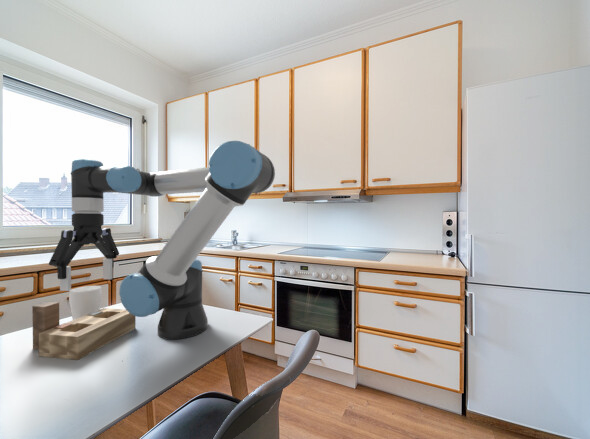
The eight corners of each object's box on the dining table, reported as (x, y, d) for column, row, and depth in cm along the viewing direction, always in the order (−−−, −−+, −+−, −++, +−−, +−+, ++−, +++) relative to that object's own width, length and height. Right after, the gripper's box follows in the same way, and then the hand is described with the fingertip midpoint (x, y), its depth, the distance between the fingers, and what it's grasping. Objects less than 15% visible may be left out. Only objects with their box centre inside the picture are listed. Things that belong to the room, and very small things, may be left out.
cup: (84, 329, 88) (84, 293, 88) (62, 327, 90) (61, 291, 90) (108, 319, 97) (108, 286, 97) (87, 317, 99) (87, 284, 99)
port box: (135, 328, 90) (135, 309, 89) (77, 359, 70) (77, 335, 70) (103, 325, 91) (103, 307, 91) (39, 356, 72) (38, 332, 72)
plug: (59, 343, 79) (59, 302, 79) (44, 350, 75) (44, 306, 75) (48, 342, 80) (47, 301, 79) (32, 348, 76) (32, 306, 75)
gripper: (111, 213, 93) (112, 274, 93) (30, 212, 69) (30, 295, 69) (131, 213, 92) (131, 275, 92) (54, 212, 67) (55, 297, 68)
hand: (88, 284), depth 81 cm, fingers open, 13 cm apart
